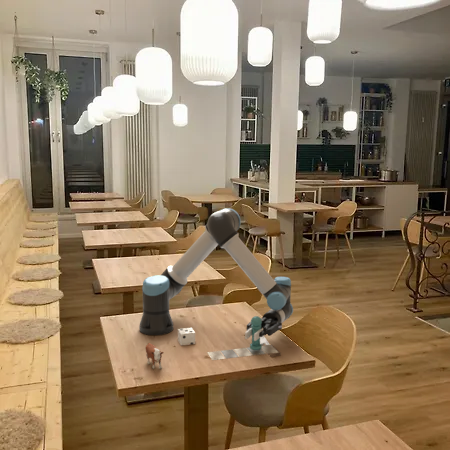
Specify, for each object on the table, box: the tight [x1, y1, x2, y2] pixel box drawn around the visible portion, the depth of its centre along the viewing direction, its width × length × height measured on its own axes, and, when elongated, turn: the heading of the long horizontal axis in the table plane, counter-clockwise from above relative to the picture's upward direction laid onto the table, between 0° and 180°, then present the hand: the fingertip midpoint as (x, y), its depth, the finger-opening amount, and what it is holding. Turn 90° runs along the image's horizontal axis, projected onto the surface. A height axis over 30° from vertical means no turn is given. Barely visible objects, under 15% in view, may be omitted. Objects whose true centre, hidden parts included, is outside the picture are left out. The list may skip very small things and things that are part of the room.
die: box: [177, 327, 196, 346], centre depth 204 cm, size 6×6×6 cm
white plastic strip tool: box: [260, 335, 271, 346], centre depth 207 cm, size 5×15×1 cm, turn 9°
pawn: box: [249, 315, 263, 350], centre depth 195 cm, size 5×5×13 cm
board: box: [206, 344, 282, 361], centre depth 194 cm, size 28×9×1 cm, turn 107°
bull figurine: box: [145, 342, 164, 370], centre depth 183 cm, size 4×13×8 cm, turn 24°
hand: (250, 336), depth 190 cm, fingers closed on pawn, 3 cm apart
